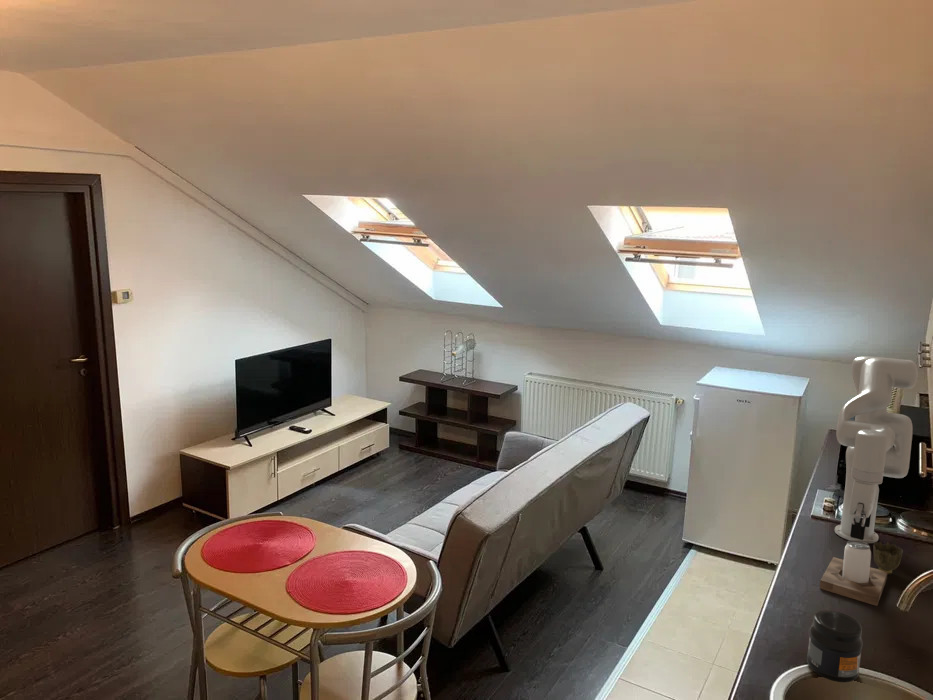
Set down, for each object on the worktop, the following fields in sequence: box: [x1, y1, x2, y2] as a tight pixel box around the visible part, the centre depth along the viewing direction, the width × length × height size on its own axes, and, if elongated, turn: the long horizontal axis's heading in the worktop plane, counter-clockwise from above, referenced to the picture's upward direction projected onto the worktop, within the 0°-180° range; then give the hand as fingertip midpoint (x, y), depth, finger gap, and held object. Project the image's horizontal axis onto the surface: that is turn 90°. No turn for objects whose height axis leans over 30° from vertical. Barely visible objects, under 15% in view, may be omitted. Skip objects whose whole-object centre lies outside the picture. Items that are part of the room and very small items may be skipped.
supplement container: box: [806, 609, 864, 683], centre depth 151 cm, size 10×10×12 cm
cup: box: [872, 541, 904, 576], centre depth 196 cm, size 8×7×8 cm
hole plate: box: [819, 556, 888, 607], centre depth 189 cm, size 18×14×2 cm
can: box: [842, 540, 872, 583], centre depth 188 cm, size 6×6×12 cm
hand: (859, 531), depth 187 cm, fingers open, 9 cm apart
